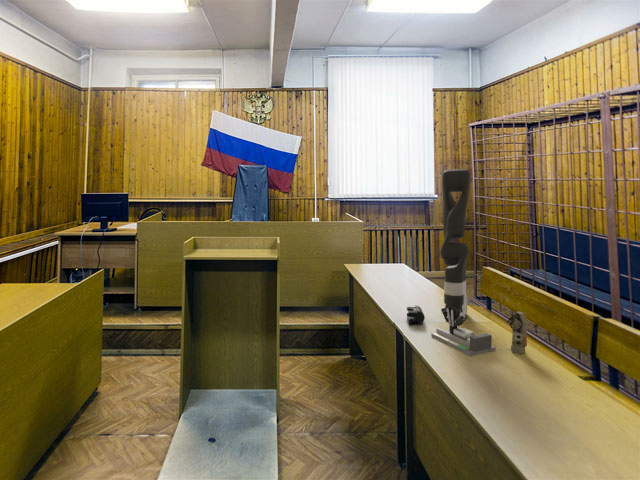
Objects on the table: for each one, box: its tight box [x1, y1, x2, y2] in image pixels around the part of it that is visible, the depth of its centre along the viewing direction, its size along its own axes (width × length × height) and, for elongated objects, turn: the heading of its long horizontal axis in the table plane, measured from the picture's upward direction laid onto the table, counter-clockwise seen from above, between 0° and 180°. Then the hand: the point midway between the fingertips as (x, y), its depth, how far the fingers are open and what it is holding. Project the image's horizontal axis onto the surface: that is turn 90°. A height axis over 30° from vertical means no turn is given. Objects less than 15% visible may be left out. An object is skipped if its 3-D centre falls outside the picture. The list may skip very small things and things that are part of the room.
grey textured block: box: [454, 327, 475, 341], centre depth 144 cm, size 4×8×4 cm, turn 21°
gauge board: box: [430, 325, 497, 357], centre depth 146 cm, size 12×22×6 cm, turn 21°
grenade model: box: [506, 310, 528, 355], centre depth 134 cm, size 6×7×15 cm
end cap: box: [406, 305, 426, 326], centre depth 172 cm, size 10×7×7 cm
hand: (453, 334), depth 150 cm, fingers closed
